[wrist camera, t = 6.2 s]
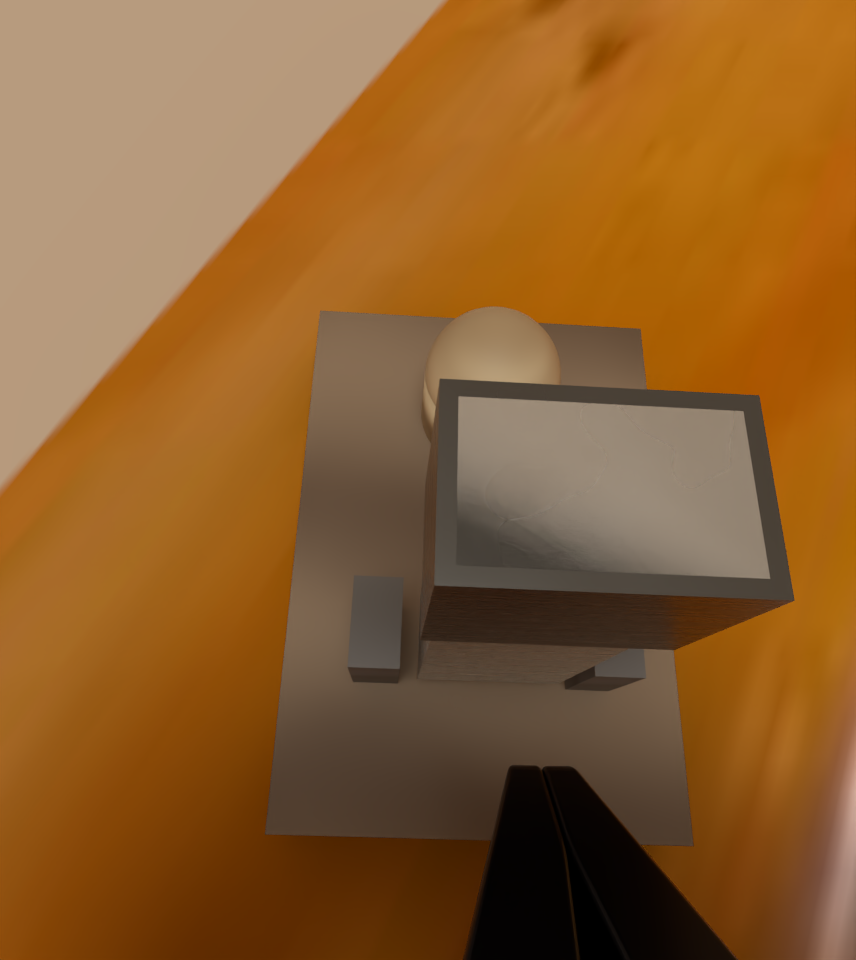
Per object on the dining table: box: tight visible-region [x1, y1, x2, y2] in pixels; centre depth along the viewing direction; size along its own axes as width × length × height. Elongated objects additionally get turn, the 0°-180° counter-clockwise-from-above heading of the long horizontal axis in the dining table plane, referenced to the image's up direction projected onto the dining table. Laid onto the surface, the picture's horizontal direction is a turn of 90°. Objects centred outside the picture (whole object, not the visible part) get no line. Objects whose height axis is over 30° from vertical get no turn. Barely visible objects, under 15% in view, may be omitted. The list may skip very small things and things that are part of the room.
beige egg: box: [421, 307, 561, 443], centre depth 17 cm, size 3×3×4 cm
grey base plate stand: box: [265, 311, 694, 846], centre depth 17 cm, size 13×9×4 cm
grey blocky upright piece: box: [417, 379, 794, 684], centre depth 11 cm, size 2×3×9 cm, turn 88°
